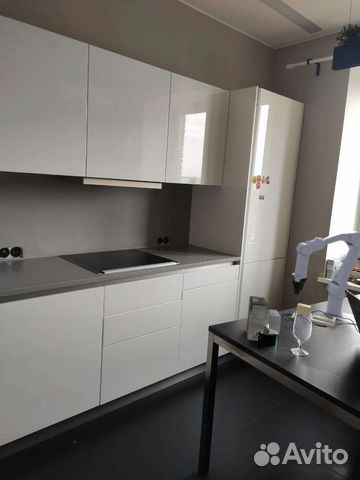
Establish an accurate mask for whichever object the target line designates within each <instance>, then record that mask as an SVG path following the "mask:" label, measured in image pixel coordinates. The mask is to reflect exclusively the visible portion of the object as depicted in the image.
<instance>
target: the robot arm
mask: <svg viewBox="0 0 360 480" xmlns="http://www.w3.org/2000/svg"><path fill="white" fill-rule="evenodd" d="M339 241H340V242H344V243H345V244H346V245H347V247H348V251H347V253H346V255H345V258H344V260H343V262H342V263H341V264H342V265H341V266H340V268H339V270H338V273H337V275H336V276H335V277H333V278H331V281H330V282H328V284H327V286H326V289H327V291H328V298H327V304H326V308H325V310H324V313H325V314H328V315H333V316H335V317H337V316H338V317H342V315H343V312H344V311H343V304H344V299H345V298H346V297H347V295H346V293H345V290H347V291H348V290H349V283H348V281H349V278H350V277H351V275H352V271H353V270H354V267H355V265H356V263H357V261H358V259H359V257H360V231H356V230H355V231H354V230H352V229H348V228H345V229H342V230H340V231H338V232H337V233H333V234H331V235H329V236H327V237H324V238H322V237H317V236H316V237H314V239H311V240H306V241H305V242H300V243H298V244H297V245H296V247H295V251H296V262H295V268H294V272H292V274H291V275H292V276H294V278H293V279H292V280H291V283H292V286H293V294H294V295H299V294H300V292H302V291H303V288H304V285H305V283H306V282H307V280H308V276H307V274H308V266H309V258H310V256H311V254H312V253H315V252H317V251H319V250H323V249H324V248H325V247H326V246H327V245H329V244H333V243H336V242H339Z"/></svg>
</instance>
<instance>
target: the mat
mask: <svg viewBox="0 0 360 480" xmlns="http://www.w3.org/2000/svg"><path fill="white" fill-rule="evenodd" d="M295 312H296V311H294V312H293V313H292V315H291V316H290V318H291V319H295V318H294V317H295ZM310 316H311V318H312V316H313V315H310Z"/></svg>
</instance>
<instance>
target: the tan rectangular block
mask: <svg viewBox="0 0 360 480" xmlns="http://www.w3.org/2000/svg"><path fill="white" fill-rule="evenodd" d="M311 308H312V306H311V305H307V304H304V303H301V302H299V303H297V306H296V311H295V312H296V313H298V314H300V315H303V316H306V317H309V316H311Z"/></svg>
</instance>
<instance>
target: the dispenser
mask: <svg viewBox="0 0 360 480" xmlns="http://www.w3.org/2000/svg"><path fill="white" fill-rule="evenodd" d="M311 316H312V318H311V321H312V322H311V321H310V322H311V323H314V324H319V325H322V326H327V327H330V328H335V325H336V323H337V316H333V317H332V319H331V318H327V317H323V316H318V315H315V314H313V315H311Z"/></svg>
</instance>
